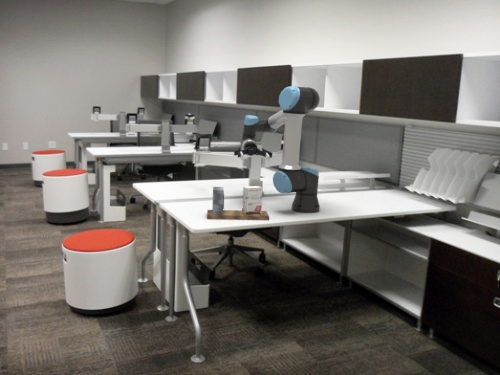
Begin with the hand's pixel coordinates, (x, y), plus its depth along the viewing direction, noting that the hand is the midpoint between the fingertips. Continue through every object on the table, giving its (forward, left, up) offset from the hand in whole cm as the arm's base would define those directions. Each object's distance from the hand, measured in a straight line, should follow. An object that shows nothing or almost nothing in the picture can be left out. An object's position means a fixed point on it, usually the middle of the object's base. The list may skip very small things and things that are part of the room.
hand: (255, 158), depth 242 cm
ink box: (+2, +11, -25) cm, 27 cm away
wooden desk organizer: (+9, +11, -28) cm, 32 cm away
